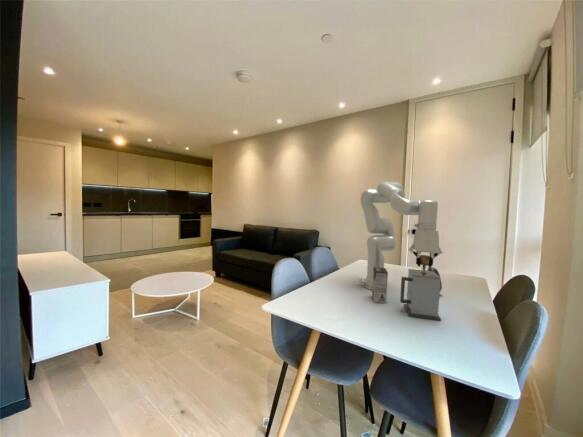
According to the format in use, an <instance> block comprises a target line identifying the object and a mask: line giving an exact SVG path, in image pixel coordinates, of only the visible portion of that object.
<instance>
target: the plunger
mask: <svg viewBox="0 0 583 437" xmlns="http://www.w3.org/2000/svg"><path fill="white" fill-rule="evenodd" d="M420 258H421V264H420V266H422V269H421V270H422V274H425V270H426V269H427V268H426V267H427V266H428V267H429V261H430V255H425V254H420Z"/></svg>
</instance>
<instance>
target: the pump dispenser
mask: <svg viewBox="0 0 583 437" xmlns="http://www.w3.org/2000/svg"><path fill="white" fill-rule="evenodd" d="M426 271H434V272H435V273H436V274H437V275H438V276H439V277H441V275H440V273H439V271H438V269H437V268H435V267H431V268H430V267H429V266H428V267H427V270H426ZM442 285H443V284H442V279H441V280H440V293H441V291H442V290H443V286H442Z"/></svg>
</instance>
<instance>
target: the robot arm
mask: <svg viewBox="0 0 583 437" xmlns="http://www.w3.org/2000/svg"><path fill="white" fill-rule="evenodd" d="M360 195H361V196H360V205H361V208H362V211H363V214H364V219H365V225H366V229H367V232H368V233H369V234H373V235H371V236H369V237H367V240H366V247H367V248H366V249H367V266H366V268H367V269H366V270H367V271H366V278H364V279H362V278H359V279H358V282H359V283H361V284H363V286H364V287H363V288H366V289H369V290H371V291H372V287H373V268H374V267H375V268H385V257H384V255H383V253H382V252H390V251H394V250H395V249H396V248H397V239H396V234H395V229H394V224H393V222H392V221H391V219H389V218H384V217H383V218H381V217H380V214H379V213H380V212H379V210H378V208H377V207H376V205H375V204H388V203H390V207H391V208H392V210H394V211H396V212H397V213H399V214H400V215H404V216H418V217H417V223H414V228H417V229H415V232H414V237H413V241H412V244H411V246H410V247H409V248H408V251H409V252H411V253H412V254H413V255H414V256H415V258H416V259H415V264H416V266H417V267H421V265H420V264H421V258H420V255H422V253H429V254H428V255H429V256H430V261H429V266H428V267H430V268H433V265H434V259H435V258H436V257H438V256H439V255H441V254H443V251H442V249H441V248H440V234H439V231H438V230H437V220H438V206H439V204H438V201H437V200H434V199H433V200H432V199H431V200H430V199H410V198H407V199H405V195H406V194H405V191H404V187H403V185H402V184H401V183H400V182H397V181H381V182H380V183H378V184H377V187H376V188H367V189H365V190H363V191H362V192H361V194H360ZM375 234H377V235H375ZM379 234H380V235H379Z"/></svg>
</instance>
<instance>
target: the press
mask: <svg viewBox="0 0 583 437" xmlns="http://www.w3.org/2000/svg"><path fill="white" fill-rule="evenodd" d="M422 270H423V269H415V268H414V269H413V268H408V272H407V274H408V275H407V276H401V282H400V298H399V299H400V300H399V302H400V303H401V304H403V308H404V309H405V311H406V314H407V316H408V318H413V319H414V318H415V319H421V320H422V319H423V320H430V321H437V322H438V321H439V322H441V321H442V319H441V317H440V315H439V306H440V293H441V292H440V280H441V281H442V279H441V276H440V277H439V276H438V275H437V274H436V273H435V272H434V271H427V270H426V269H425V274H422ZM406 282H407V291H406V298H405V289H406V288H405V286H406V285H405V284H406Z"/></svg>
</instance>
